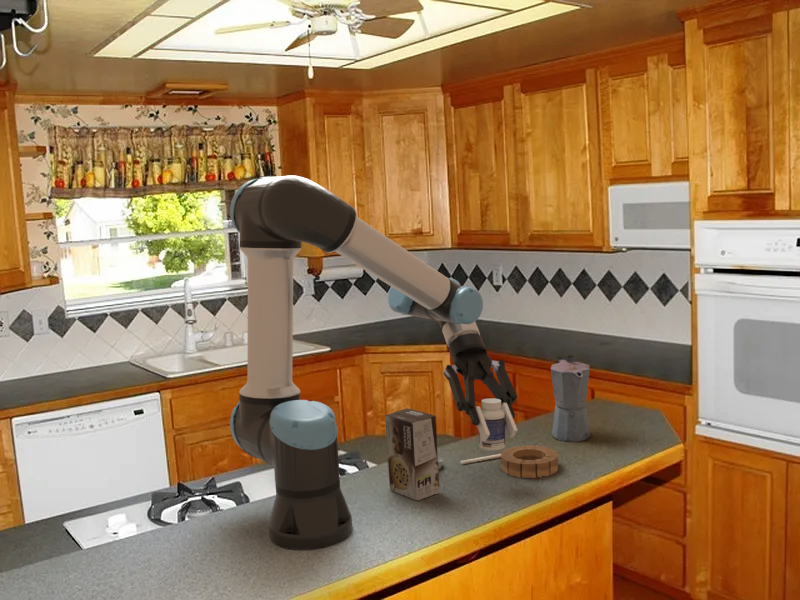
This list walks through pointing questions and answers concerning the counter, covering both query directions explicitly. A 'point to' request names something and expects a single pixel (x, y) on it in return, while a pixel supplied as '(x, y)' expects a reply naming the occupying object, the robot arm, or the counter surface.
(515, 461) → the brown segmented ring
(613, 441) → the counter surface
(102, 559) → the counter surface
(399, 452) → the coffee box
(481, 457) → the wooden dowel
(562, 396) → the moka pot
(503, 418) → the pill bottle
